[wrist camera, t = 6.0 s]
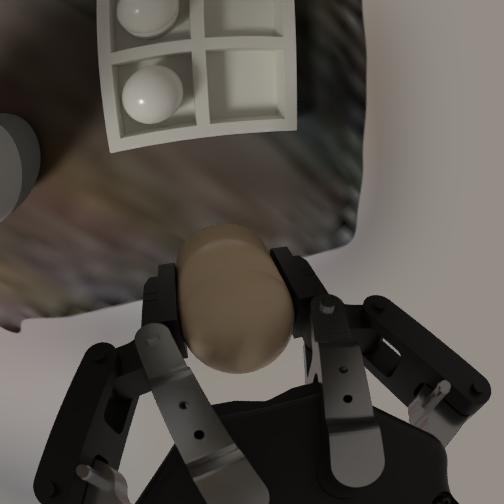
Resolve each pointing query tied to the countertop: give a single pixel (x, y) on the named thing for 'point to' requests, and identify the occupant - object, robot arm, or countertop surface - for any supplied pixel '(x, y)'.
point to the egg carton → (205, 70)
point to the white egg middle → (148, 17)
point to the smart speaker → (16, 162)
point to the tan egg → (232, 300)
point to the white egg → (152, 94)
